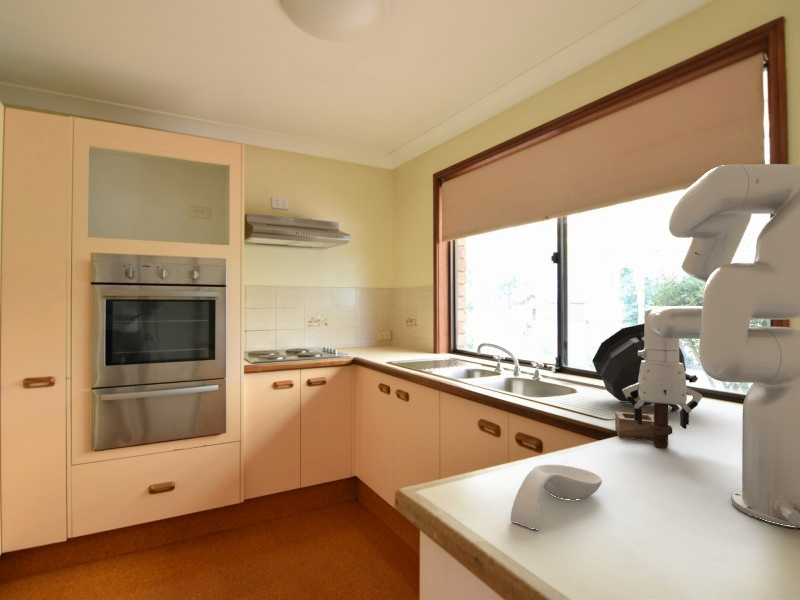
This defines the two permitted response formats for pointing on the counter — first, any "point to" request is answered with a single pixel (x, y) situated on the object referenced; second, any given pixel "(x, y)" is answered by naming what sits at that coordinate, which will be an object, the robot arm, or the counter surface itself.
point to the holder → (633, 426)
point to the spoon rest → (551, 490)
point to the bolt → (661, 425)
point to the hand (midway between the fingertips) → (660, 425)
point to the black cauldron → (625, 362)
